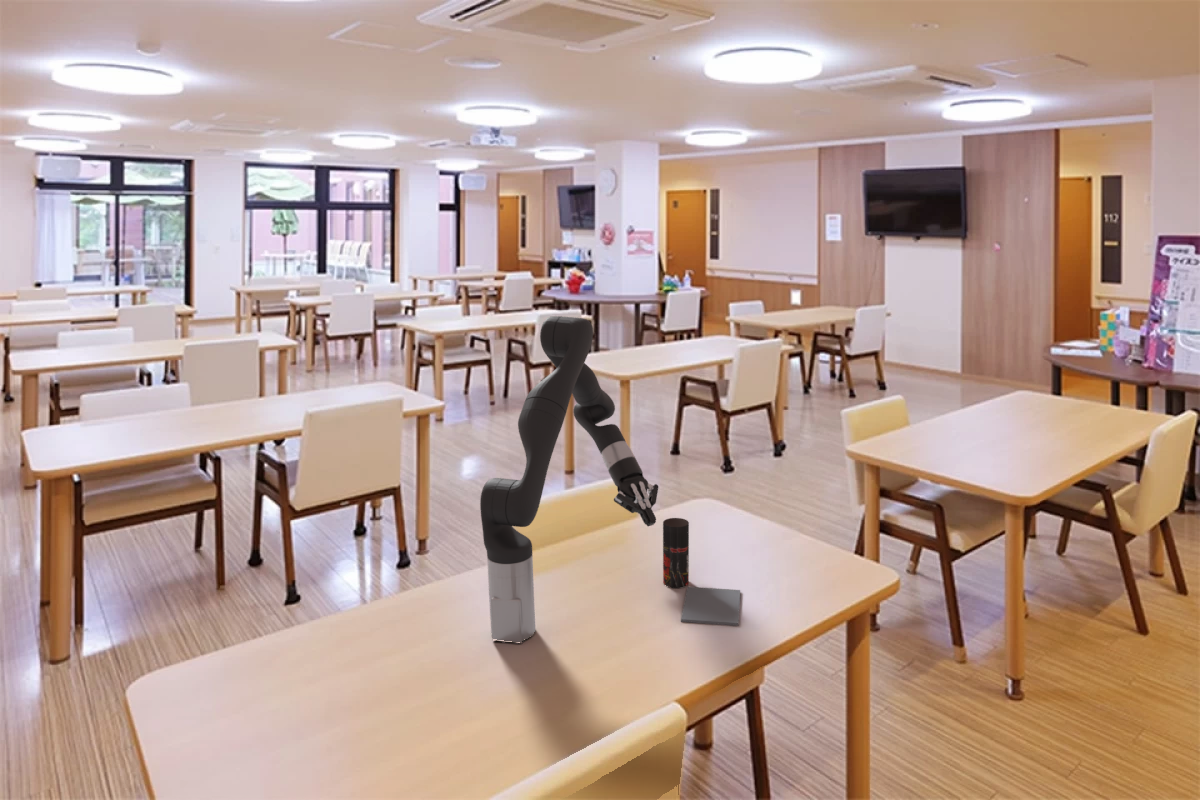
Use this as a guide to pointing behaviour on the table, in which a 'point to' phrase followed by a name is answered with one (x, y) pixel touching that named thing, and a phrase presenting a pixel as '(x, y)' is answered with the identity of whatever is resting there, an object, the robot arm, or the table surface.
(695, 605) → the mat
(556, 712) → the table surface
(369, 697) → the table surface
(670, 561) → the deodorant
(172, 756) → the table surface
